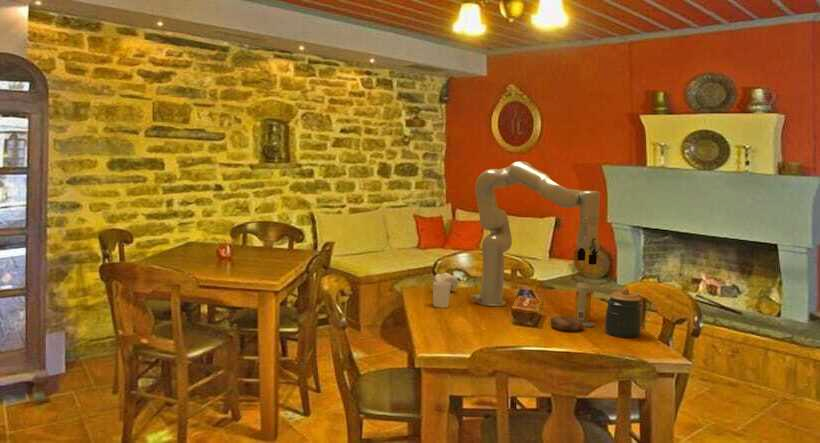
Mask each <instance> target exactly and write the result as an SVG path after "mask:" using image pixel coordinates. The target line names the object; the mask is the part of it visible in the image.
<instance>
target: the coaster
mask: <svg viewBox="0 0 820 443" xmlns="http://www.w3.org/2000/svg"><path fill="white" fill-rule="evenodd" d="M594 327H596V323H595V322H591V321H583V327H582V328H594Z"/></svg>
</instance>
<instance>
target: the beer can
mask: <svg viewBox="0 0 820 443" xmlns="http://www.w3.org/2000/svg"><path fill="white" fill-rule="evenodd" d="M575 286H576V287H575V299H574V300H575V301H574V303H575V304H574V317H573V318H577V319H580V320H582V321H587V322H589V320H590V318H591V308H592V307H591V305H592V304H591V303H592V293H593V292H592V289H593V288H592V287H593V286H592V284H591V283H589V282H581V281H579V282H577V284H576V285H575Z"/></svg>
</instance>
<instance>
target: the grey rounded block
mask: <svg viewBox="0 0 820 443" xmlns="http://www.w3.org/2000/svg"><path fill="white" fill-rule="evenodd" d="M434 282H448V283H451V290H450V291H451V292H454V291H455V290H456V289H457V288H458V285H459V281H458V279H457V277H456V275H453V274H450V273H449V272H444V273H441V274H440V273H437V274H435V276H434Z"/></svg>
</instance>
